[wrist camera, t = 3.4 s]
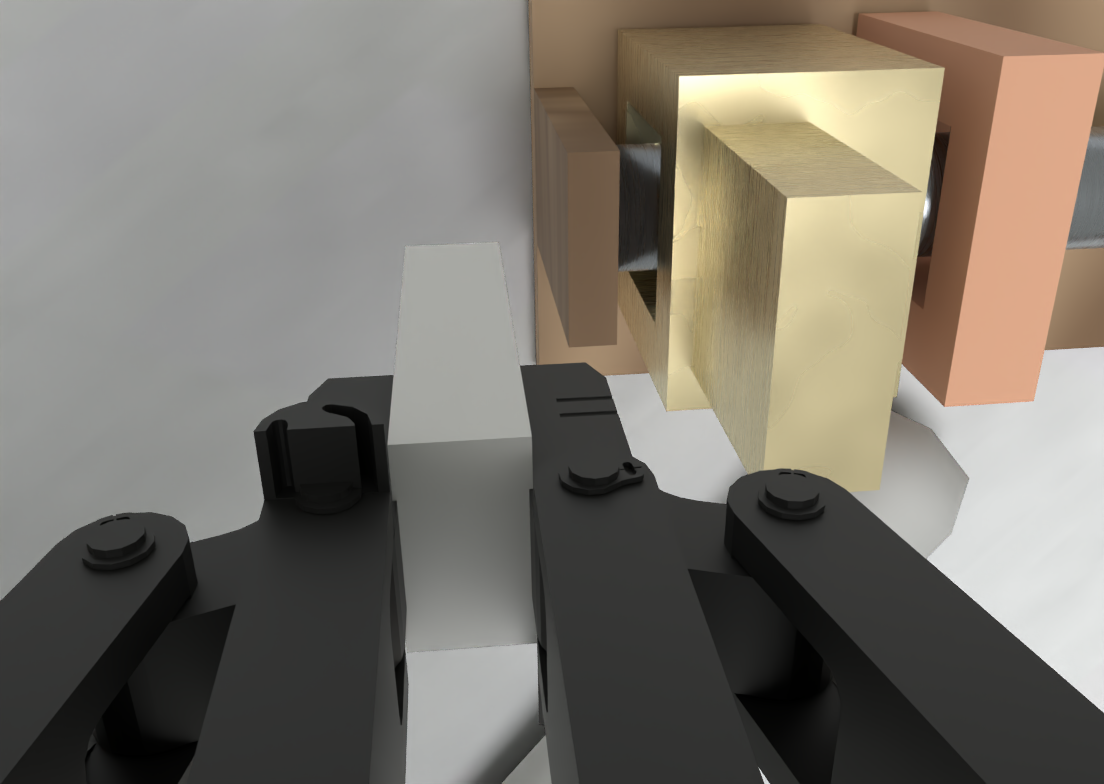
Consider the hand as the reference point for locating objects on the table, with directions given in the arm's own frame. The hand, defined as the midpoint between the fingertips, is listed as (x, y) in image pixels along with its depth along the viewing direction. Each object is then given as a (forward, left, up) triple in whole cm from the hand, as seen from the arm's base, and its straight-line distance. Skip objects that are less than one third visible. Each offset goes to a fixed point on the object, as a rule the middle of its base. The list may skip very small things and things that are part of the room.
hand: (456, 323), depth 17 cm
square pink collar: (+11, 0, -10) cm, 15 cm away
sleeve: (+7, 0, -10) cm, 12 cm away
